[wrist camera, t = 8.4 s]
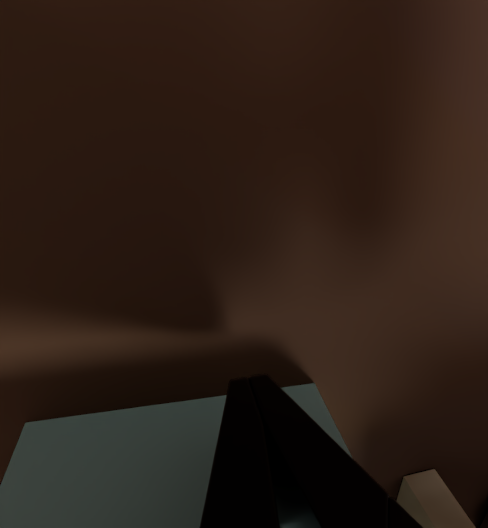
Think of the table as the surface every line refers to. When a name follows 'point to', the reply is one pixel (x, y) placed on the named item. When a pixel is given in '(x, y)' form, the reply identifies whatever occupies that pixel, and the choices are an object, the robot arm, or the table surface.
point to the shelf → (431, 502)
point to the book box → (125, 465)
